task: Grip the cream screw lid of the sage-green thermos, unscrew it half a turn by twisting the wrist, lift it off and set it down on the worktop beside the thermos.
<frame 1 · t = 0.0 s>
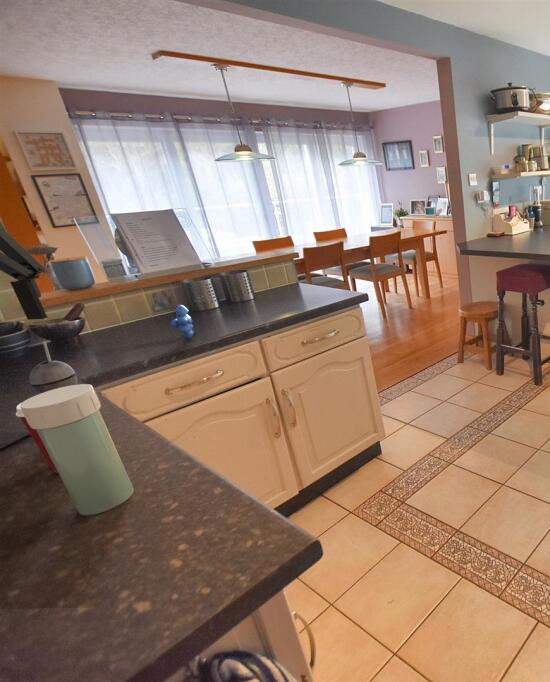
paper cup: (74, 464, 84), on the worktop
thermos: (107, 500, 73), on the worktop
grapes: (187, 338, 159), on the worktop
thermos lid: (59, 398, 66), point 19 cm above the worktop, screwed on, not yet turned
beverage cup: (75, 425, 100), on the worktop
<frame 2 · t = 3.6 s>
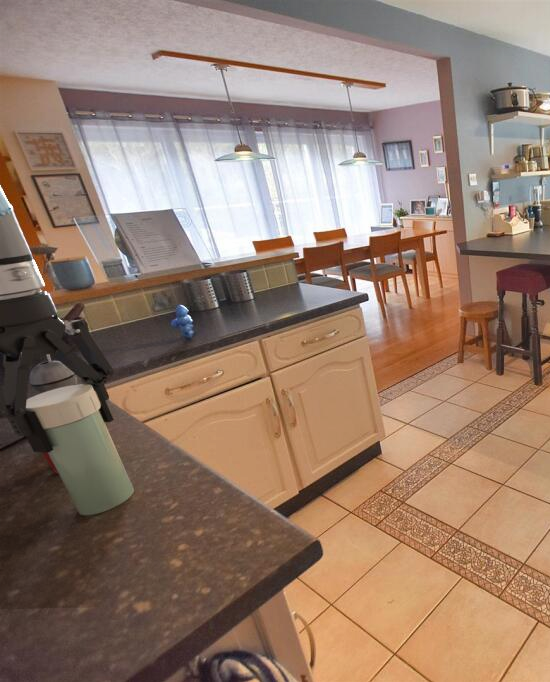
hand: (76, 434, 69), 13 cm above the worktop, tool pointing down, fingers closed on thermos lid, 8 cm apart
thermos lid: (59, 398, 66), point 19 cm above the worktop, screwed on, not yet turned, touching gripper
everything else where it was.
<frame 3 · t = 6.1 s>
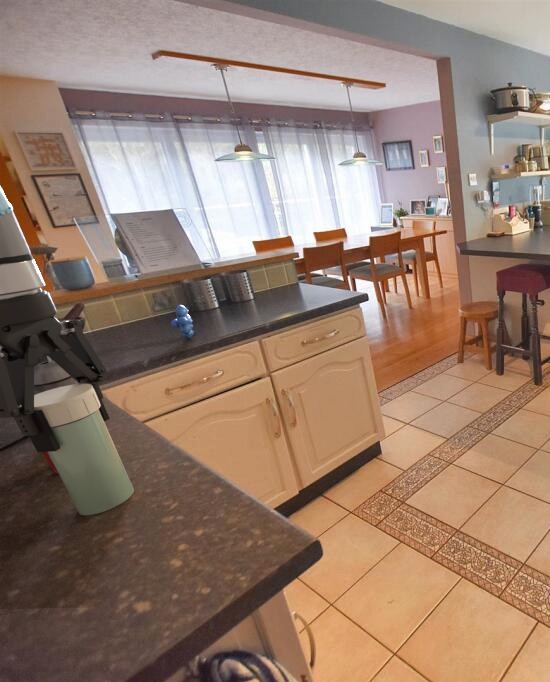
hand: (76, 434, 69), 13 cm above the worktop, tool pointing down, fingers closed on thermos lid, 8 cm apart
thermos lid: (58, 398, 66), point 19 cm above the worktop, off its thread, touching gripper
everything else where it was.
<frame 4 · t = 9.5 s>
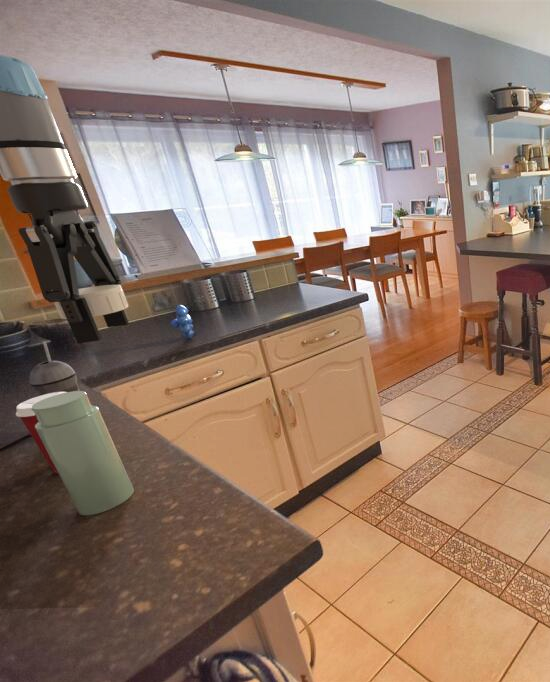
hand: (104, 332, 70), 27 cm above the worktop, tool pointing down, fingers closed on thermos lid, 8 cm apart
thermos lid: (88, 294, 68), point 34 cm above the worktop, off its thread, touching gripper
everything else where it was.
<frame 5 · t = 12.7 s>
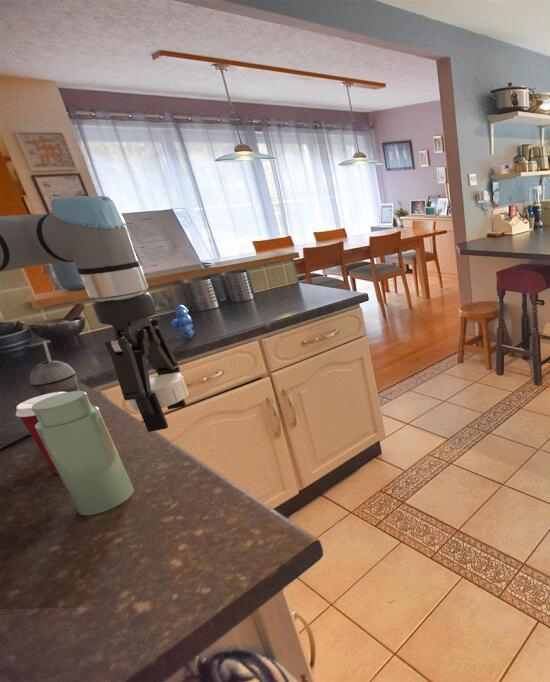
hand: (168, 417, 79), 10 cm above the worktop, tool pointing down, fingers closed on thermos lid, 8 cm apart
thermos lid: (156, 385, 77), point 16 cm above the worktop, off its thread, touching gripper
everything else where it was.
when the fingers open (0 cm above the worktop, at t = 15.8 s): thermos lid drops 3 cm, point 3 cm above the worktop.
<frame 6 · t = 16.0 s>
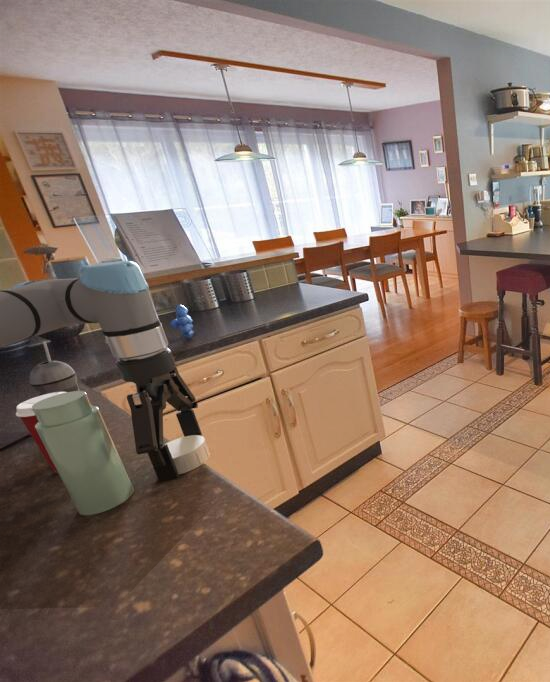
hand: (183, 458, 82), 1 cm above the worktop, tool pointing down, fingers open, 12 cm apart
thermos lid: (180, 449, 81), point 3 cm above the worktop, off its thread
everything else where it was.
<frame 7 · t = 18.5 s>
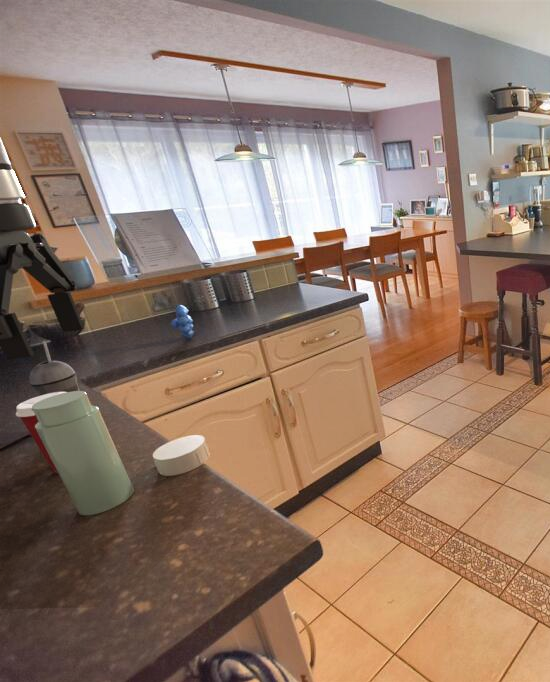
hand: (49, 343, 69), 26 cm above the worktop, tool pointing down, fingers open, 13 cm apart
nothing on the worktop moved.
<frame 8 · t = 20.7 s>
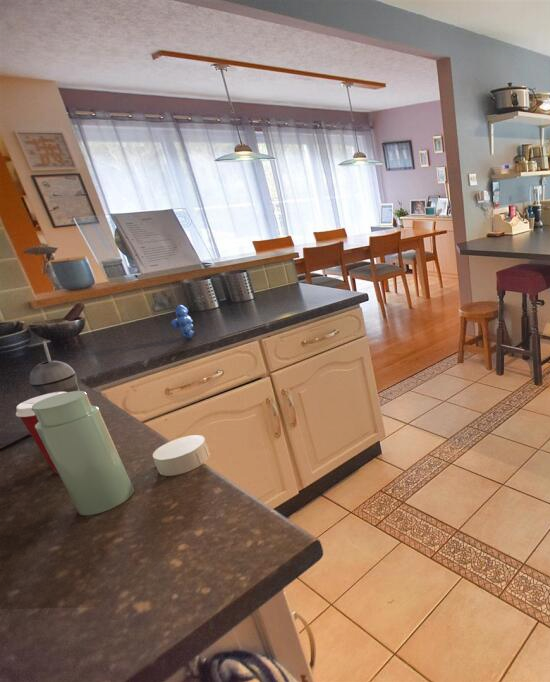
nothing on the worktop moved.
at the end: thermos lid inside the target area (0.1 cm from its centre), point 2.9 cm above the worktop; the gripper is holding nothing; thermos tilted 0° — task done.
